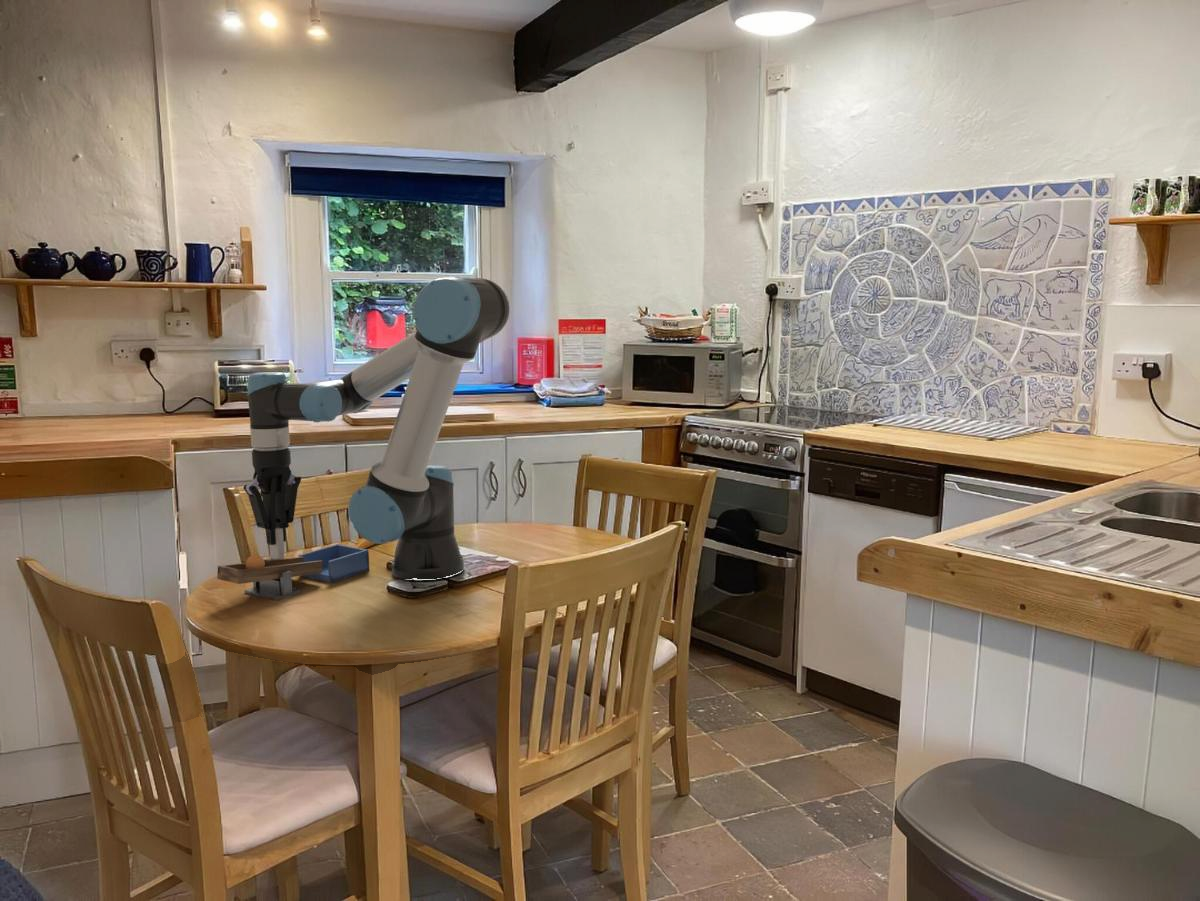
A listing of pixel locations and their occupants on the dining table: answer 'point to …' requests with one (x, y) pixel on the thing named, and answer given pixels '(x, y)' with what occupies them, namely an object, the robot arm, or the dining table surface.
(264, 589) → the stand
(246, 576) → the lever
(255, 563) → the ball
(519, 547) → the dining table surface
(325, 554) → the tray
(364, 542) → the carrot
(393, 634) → the dining table surface
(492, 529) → the dining table surface
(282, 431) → the robot arm
